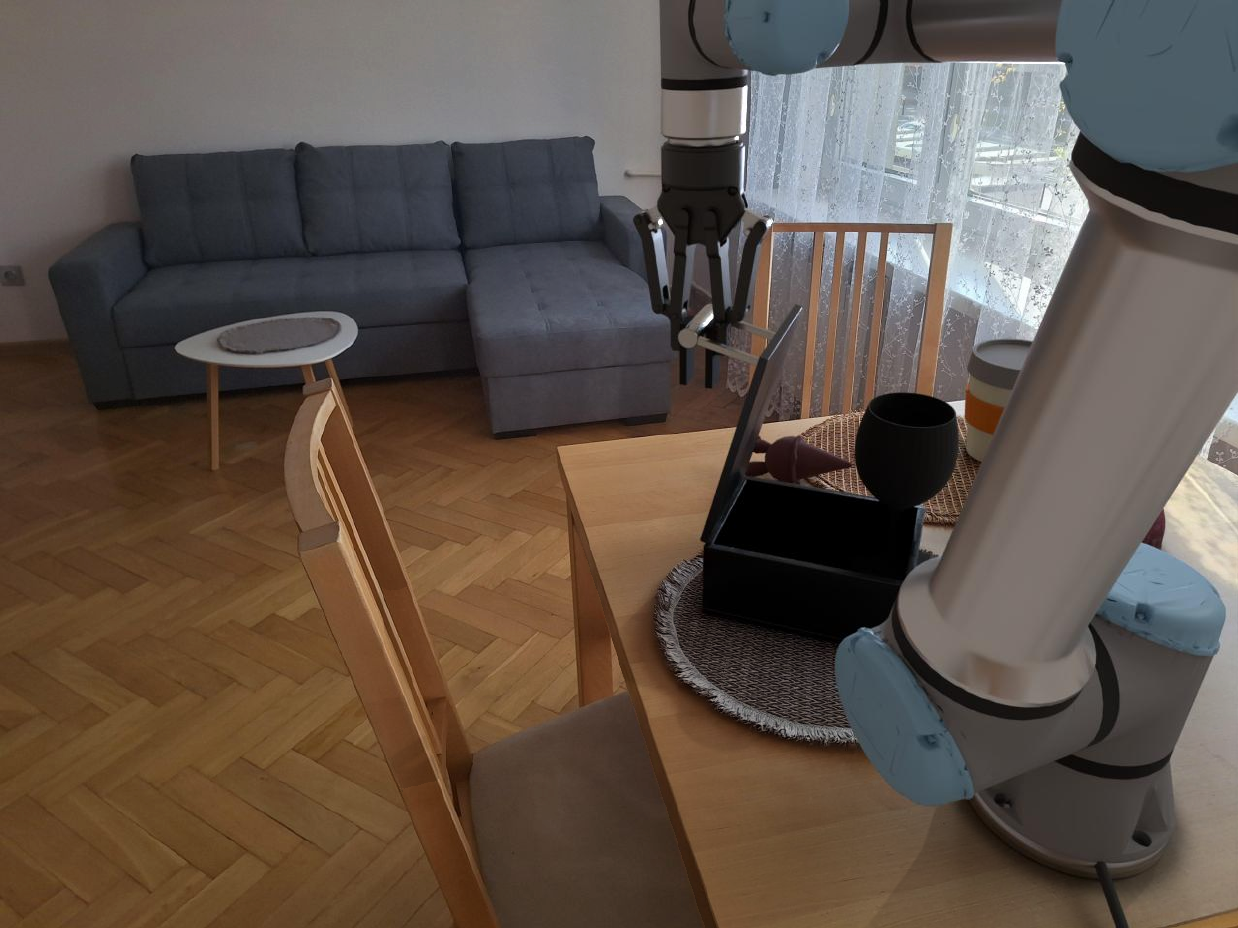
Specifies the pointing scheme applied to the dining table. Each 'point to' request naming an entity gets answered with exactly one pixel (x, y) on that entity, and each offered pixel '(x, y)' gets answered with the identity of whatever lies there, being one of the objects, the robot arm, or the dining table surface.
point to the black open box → (804, 559)
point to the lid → (754, 403)
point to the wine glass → (904, 462)
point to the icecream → (793, 460)
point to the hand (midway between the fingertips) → (699, 381)
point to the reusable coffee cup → (990, 388)
